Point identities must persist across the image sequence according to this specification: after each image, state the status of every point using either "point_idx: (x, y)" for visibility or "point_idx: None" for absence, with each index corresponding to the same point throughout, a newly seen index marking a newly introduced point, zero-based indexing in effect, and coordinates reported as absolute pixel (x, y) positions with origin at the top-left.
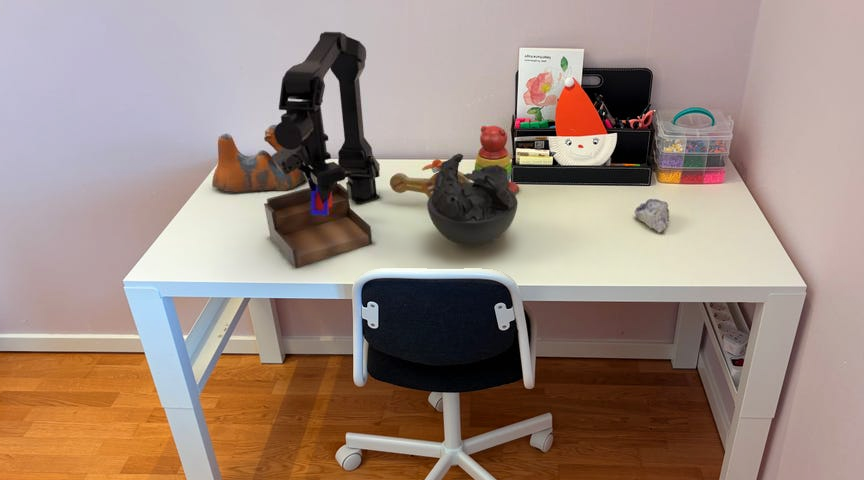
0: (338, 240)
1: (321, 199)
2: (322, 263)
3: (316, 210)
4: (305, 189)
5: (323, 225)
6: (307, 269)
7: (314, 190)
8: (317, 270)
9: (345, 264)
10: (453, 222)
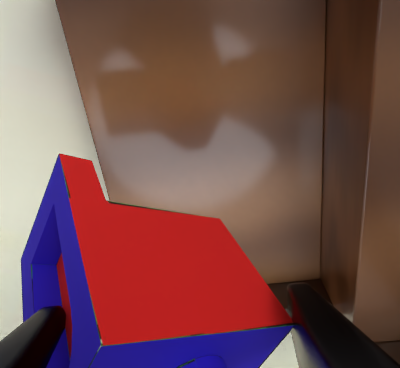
0: (138, 197)
1: (8, 340)
2: (67, 89)
3: (48, 214)
4: None
5: (305, 178)
6: (35, 12)
7: (295, 329)
8: (15, 53)
9: (33, 167)
10: None
